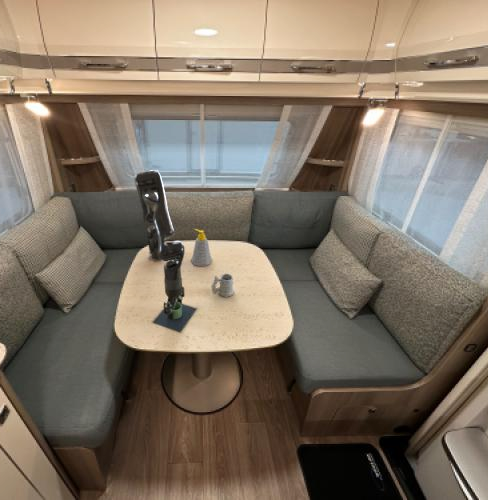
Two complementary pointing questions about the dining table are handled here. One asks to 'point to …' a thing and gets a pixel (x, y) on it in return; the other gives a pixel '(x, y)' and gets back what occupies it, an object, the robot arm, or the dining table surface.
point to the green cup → (177, 310)
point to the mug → (223, 285)
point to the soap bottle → (201, 251)
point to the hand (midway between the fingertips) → (175, 312)
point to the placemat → (175, 323)
